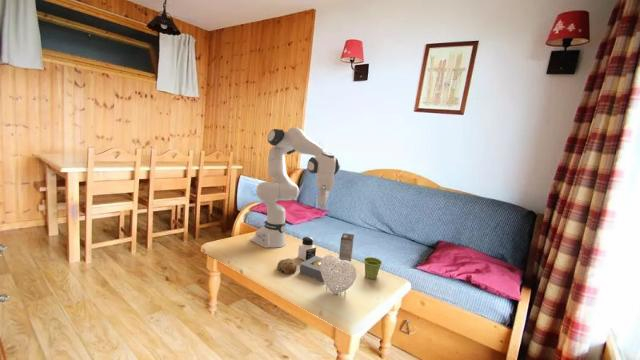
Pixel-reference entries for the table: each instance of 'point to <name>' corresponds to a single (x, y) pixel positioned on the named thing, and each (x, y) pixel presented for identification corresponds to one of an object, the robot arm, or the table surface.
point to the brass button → (317, 263)
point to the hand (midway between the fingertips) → (322, 208)
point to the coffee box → (346, 247)
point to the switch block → (312, 268)
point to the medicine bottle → (306, 249)
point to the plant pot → (372, 267)
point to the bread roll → (286, 266)
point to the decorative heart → (337, 274)
